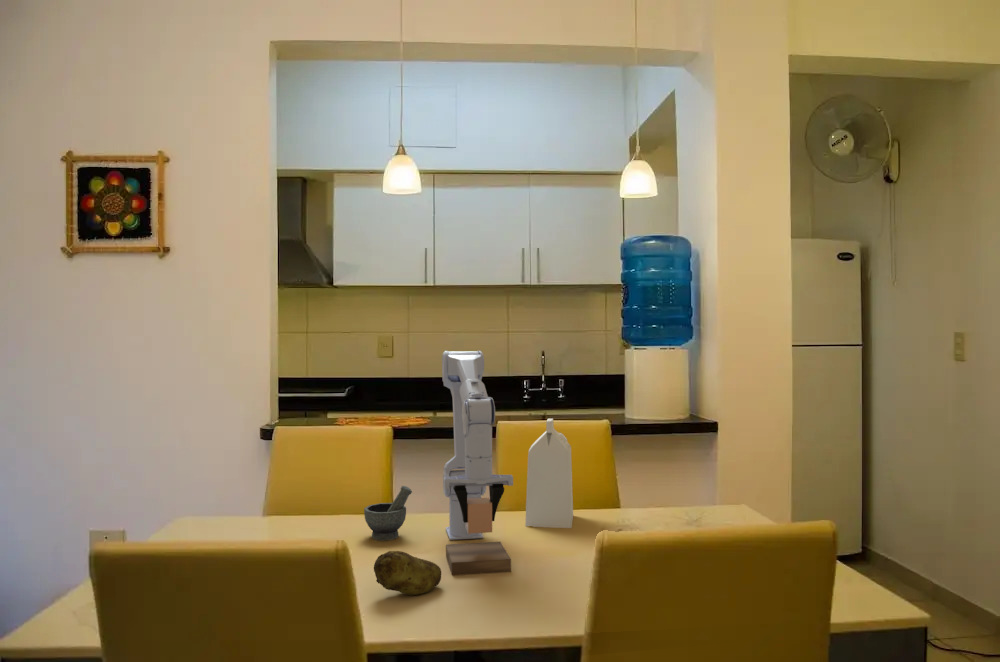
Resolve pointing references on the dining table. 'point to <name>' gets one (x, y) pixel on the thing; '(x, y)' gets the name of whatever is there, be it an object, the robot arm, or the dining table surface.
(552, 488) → the milk
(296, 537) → the dining table surface
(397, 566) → the potato
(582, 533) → the dining table surface
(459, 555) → the walnut base slab
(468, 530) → the terracotta block
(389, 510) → the mortar and pestle
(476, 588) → the dining table surface
